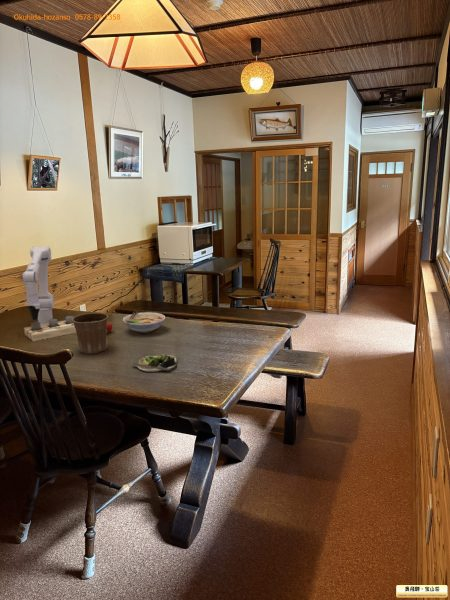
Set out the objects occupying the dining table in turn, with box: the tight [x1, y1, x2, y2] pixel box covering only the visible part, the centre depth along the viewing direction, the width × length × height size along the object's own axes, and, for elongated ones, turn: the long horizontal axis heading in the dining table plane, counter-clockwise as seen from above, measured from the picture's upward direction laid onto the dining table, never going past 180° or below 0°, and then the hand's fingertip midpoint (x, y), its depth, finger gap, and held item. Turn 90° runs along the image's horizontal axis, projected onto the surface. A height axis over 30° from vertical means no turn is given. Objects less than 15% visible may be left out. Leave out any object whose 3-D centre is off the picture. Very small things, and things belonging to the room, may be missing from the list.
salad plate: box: [130, 354, 178, 373], centre depth 188 cm, size 19×18×5 cm
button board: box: [23, 319, 77, 342], centre depth 233 cm, size 15×27×4 cm, turn 130°
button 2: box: [49, 318, 59, 328], centre depth 233 cm, size 4×4×4 cm
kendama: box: [106, 321, 113, 334], centre depth 228 cm, size 8×6×18 cm
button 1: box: [30, 321, 41, 331], centre depth 228 cm, size 4×4×4 cm
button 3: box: [65, 315, 75, 325], centre depth 239 cm, size 4×4×4 cm
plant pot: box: [72, 312, 109, 355], centre depth 205 cm, size 16×16×16 cm
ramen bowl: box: [122, 309, 166, 334], centre depth 235 cm, size 25×23×8 cm
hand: (35, 319), depth 227 cm, fingers closed
